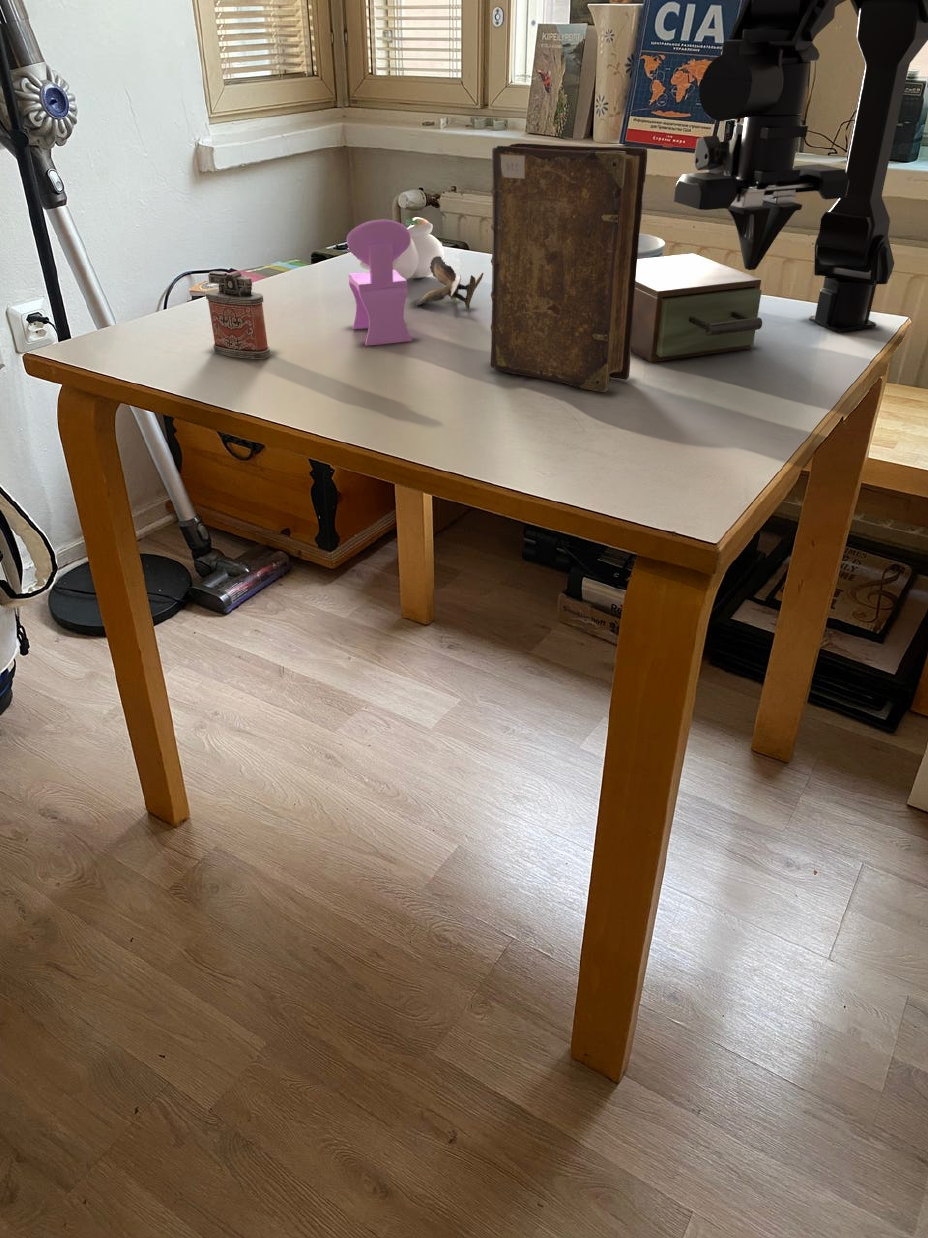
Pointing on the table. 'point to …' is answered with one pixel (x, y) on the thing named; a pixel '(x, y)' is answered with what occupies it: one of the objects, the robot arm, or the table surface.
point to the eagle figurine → (449, 284)
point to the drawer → (708, 321)
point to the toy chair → (379, 280)
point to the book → (565, 260)
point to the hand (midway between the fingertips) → (750, 269)
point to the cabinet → (676, 280)
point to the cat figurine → (417, 251)
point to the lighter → (237, 316)
